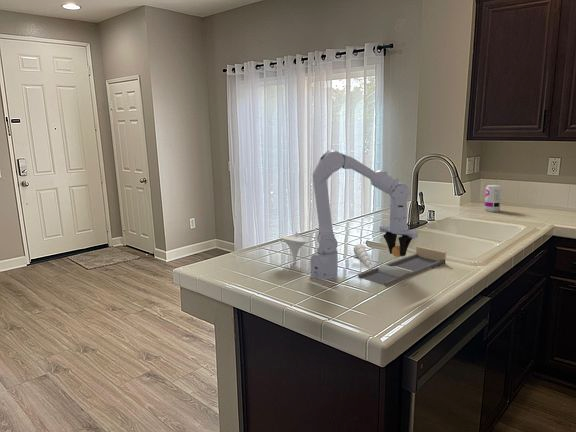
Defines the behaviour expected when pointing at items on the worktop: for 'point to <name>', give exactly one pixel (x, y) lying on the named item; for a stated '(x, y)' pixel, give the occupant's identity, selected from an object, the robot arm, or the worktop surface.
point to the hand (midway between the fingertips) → (397, 254)
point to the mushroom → (294, 243)
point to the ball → (396, 251)
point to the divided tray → (405, 266)
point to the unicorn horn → (362, 255)
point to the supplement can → (492, 198)
